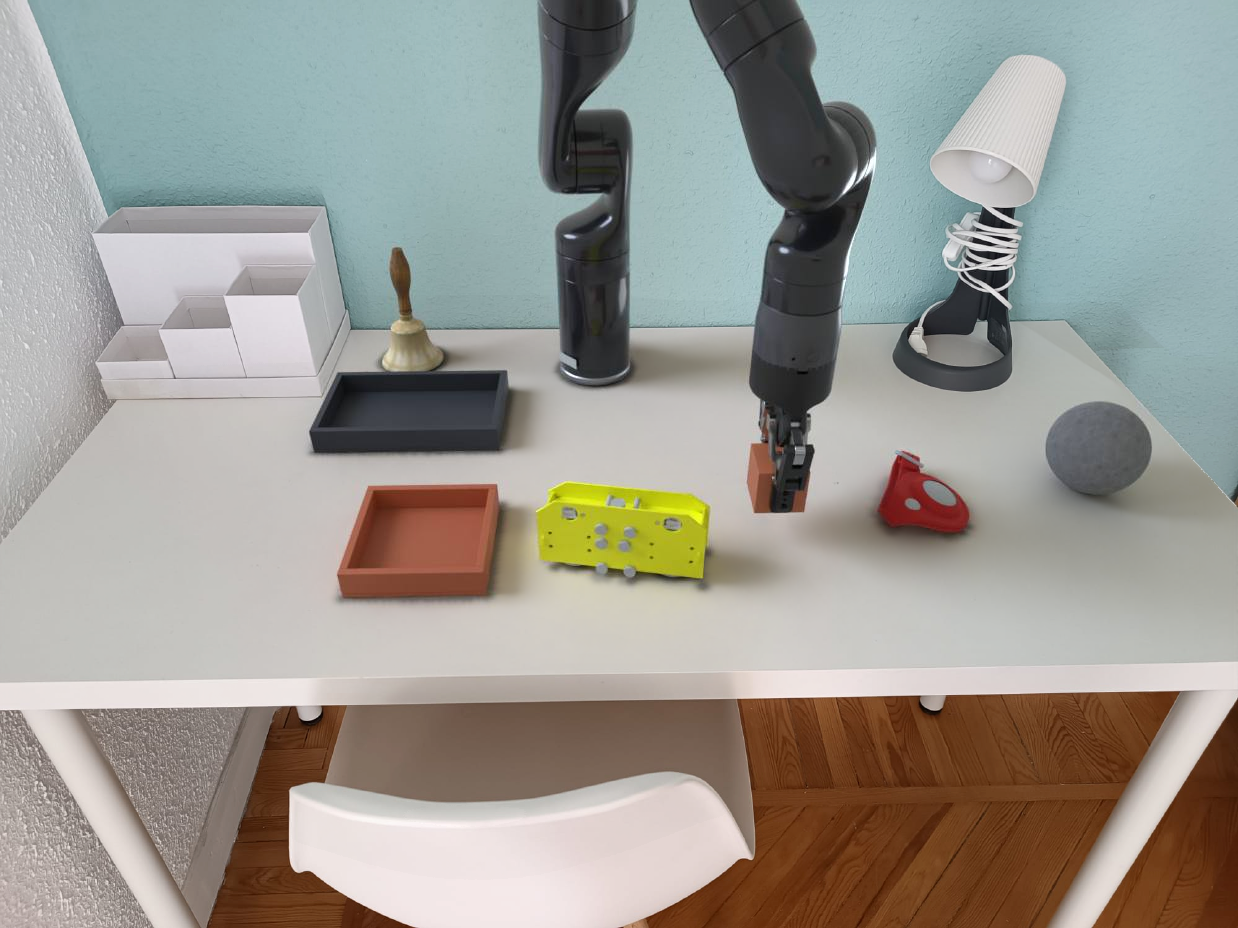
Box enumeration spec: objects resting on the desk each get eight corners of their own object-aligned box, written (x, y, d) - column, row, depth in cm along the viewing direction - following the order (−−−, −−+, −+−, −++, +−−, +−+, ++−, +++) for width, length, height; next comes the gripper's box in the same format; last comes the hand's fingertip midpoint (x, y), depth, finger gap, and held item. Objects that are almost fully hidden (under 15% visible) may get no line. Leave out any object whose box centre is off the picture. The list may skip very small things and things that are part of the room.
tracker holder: (993, 512, 91) (935, 528, 85) (968, 541, 93) (911, 558, 88) (913, 435, 97) (855, 445, 92) (893, 464, 100) (835, 475, 94)
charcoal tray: (341, 392, 113) (337, 372, 111) (508, 390, 113) (507, 370, 111) (314, 452, 102) (308, 431, 100) (499, 450, 102) (497, 429, 100)
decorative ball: (1021, 458, 101) (1046, 383, 95) (1109, 459, 100) (1140, 384, 94) (1053, 512, 92) (1082, 434, 87) (1149, 514, 92) (1185, 436, 86)
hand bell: (396, 343, 124) (378, 235, 114) (452, 348, 122) (438, 239, 113) (372, 372, 117) (350, 259, 108) (430, 378, 116) (413, 264, 106)
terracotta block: (746, 482, 90) (750, 443, 87) (794, 481, 90) (800, 442, 87) (754, 513, 86) (758, 473, 83) (804, 512, 86) (810, 472, 83)
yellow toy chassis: (539, 569, 86) (533, 502, 81) (552, 532, 90) (548, 466, 85) (701, 588, 83) (706, 520, 78) (707, 549, 88) (711, 483, 83)
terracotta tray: (372, 507, 94) (367, 485, 92) (499, 505, 94) (497, 483, 92) (342, 597, 83) (336, 574, 81) (486, 595, 83) (483, 572, 81)
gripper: (741, 308, 83) (728, 452, 94) (766, 387, 72) (748, 541, 82) (819, 307, 84) (798, 450, 94) (857, 385, 72) (828, 539, 82)
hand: (775, 492), depth 88 cm, fingers closed on terracotta block, 5 cm apart
